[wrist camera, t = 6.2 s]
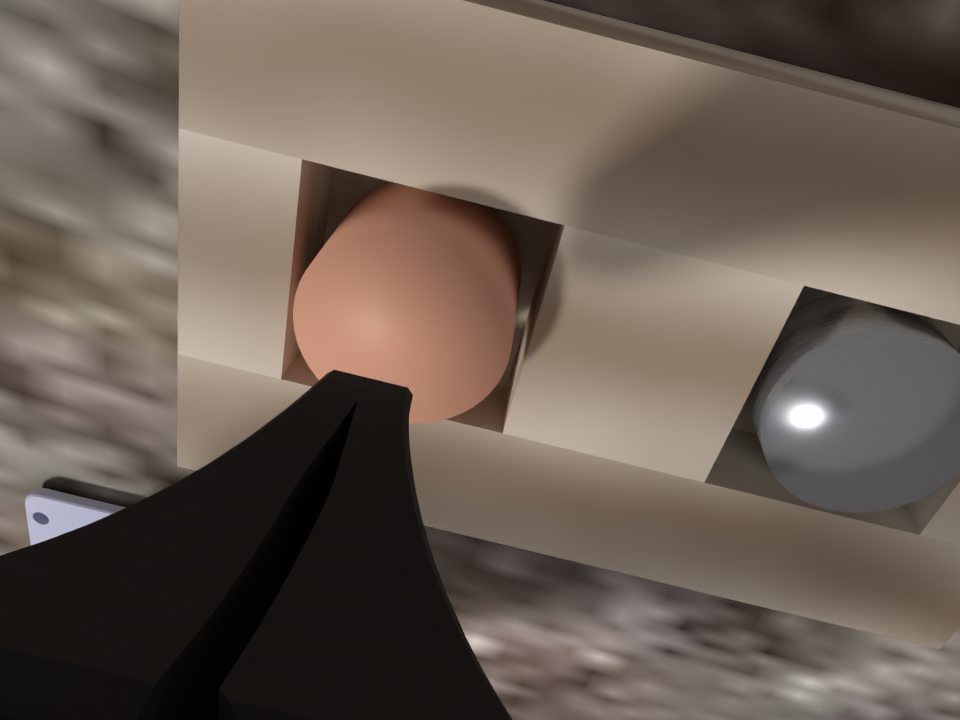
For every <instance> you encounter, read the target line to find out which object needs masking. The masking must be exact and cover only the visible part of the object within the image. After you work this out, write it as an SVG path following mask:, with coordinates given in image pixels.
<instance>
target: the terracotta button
mask: <svg viewBox="0 0 960 720" xmlns="http://www.w3.org/2000/svg"><path fill="white" fill-rule="evenodd" d="M520 284H521V260H520V255H519V251H518V247H517V244H516V242H515V239H514V237H513V235H512V233H511V231H510V229H509V227H508V225H507V224H506V223H505V221H504V220H503V219H502V217H501V216H500V215H499V214H498V212H497V211H496V210H495V209H494V208H493V207H490V206H486V205H482V204H478V203H474V202H470V201H466V200H462V199H458V198H454V197H450V196H446V195H442V194H438V193H434V192H430V191H426V190H422V189H418V188H414V187H410V186H406V185H402V184H398V183H394V182H389V183H387V184H384V185H381V186H379V187H378V188H376V189H374V190H372V191H370V192H369V193H367V194H366V195H365V196H363V197H362V198H361V199H360V200H359V201H358V202H357V203H356V204H355V205H354V206H353V207H352V208H351V209H350V211H349V212H348V213H347V215H346V216H345V217H344V219H343V220H342V222H341V223H340V224H339V226H338V227H337V228H336V230H335V231H334V233H333V234H332V235H331V237H330V238H329V239H328V241H327V242H326V243H325V245H324V246H323V248H322V249H321V250H320V252H319V253H318V254H317V256H316V257H315V258H314V260H313V261H312V263H311V264H310V265H309V267H308V268H307V269H306V271H305V273H304V275H303V276H302V278H301V280H300V282H299V285H298V288H297V291H296V294H295V299H294V305H293V323H294V332H295V335H296V339H297V343H298V346H299V348H300V351H301V353H302V355H303V357H304V359H305V361H306V363H307V364H308V366H309V368H310V369H311V370H312V372H313V373H314V374H315V376H316V377H317V378H318V379H319V380H320V379H321V378H322V377H323V376H325V375H326V374H327V373H329V372H331V371H332V370H338V371H342V372H346V373H350V374H355V375H359V376H363V377H367V378H371V379H375V380H379V381H383V382H387V383H392V384H396V385H400V386H404V387H408V388H409V390H410V391H411V393H412V394H413V398H412V403H411V408H410V412H409V423H428V422H436V421H440V420H444V419H448V418H451V417H454V416H456V415H459V414H462V413H463V412H465V411H467V410H469V409H471V408H473V407H474V406H475V405H477V404H478V403H480V402H481V401H482V400H483V399H484V398H485V397H486V396H488V395H489V394H490V393H491V392H492V390H493V389H494V388H495V386H496V385H497V384H498V383H499V381H500V379H501V377H502V376H503V374H504V372H505V370H506V367H507V364H508V362H509V358H510V353H511V349H512V342H513V335H514V328H515V320H516V313H517V306H518V299H519V292H520Z"/></svg>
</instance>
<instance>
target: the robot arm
mask: <svg viewBox="0 0 960 720" xmlns="http://www.w3.org/2000/svg"><path fill="white" fill-rule="evenodd" d="M412 398H413V394H412V393H411V391H410V390H409V388H408V387H404V386H400V385H396V384H392V383H387V382H383V381H379V380H375V379H371V378H367V377H363V376H359V375H355V374H350V373H346V372H342V371H338V370H332V371H331V372H329V373H327V374H326V375H325V376H323V377H322V378H321V379H320V380H319V381H318V382H317V383H316V384H315V385H313V386H312V387H311V388H310V389H309V390H308V391H307V392H305V393H304V394H303V395H302V396H301V397H300V398H298V399H297V400H296V401H295V402H293V403H292V404H291V405H290V406H289V407H287V408H286V409H285V410H284V411H282V412H281V413H280V414H278V415H277V416H276V417H274V418H273V419H272V420H270V421H269V422H268V423H267V424H265V425H264V426H263V427H261V428H260V429H259V430H257V431H256V432H255V433H253V434H252V435H250V436H249V437H248V438H246V439H245V440H243V441H242V442H240V443H239V444H237V445H236V446H234V447H233V448H231V449H230V450H228V451H227V452H225V453H224V454H222V455H221V456H219V457H218V458H216V459H215V460H213V461H212V462H210V463H208V464H207V465H205V466H203V467H202V468H200V469H198V470H197V471H195V472H194V473H192V474H190V475H188V476H187V477H185V478H183V479H181V480H180V481H178V482H176V483H174V484H172V485H170V486H168V487H167V488H165V489H163V490H161V491H159V492H157V493H155V494H153V495H151V496H149V497H147V498H145V499H143V500H141V501H139V502H137V503H135V504H133V505H131V506H128V507H122V506H118V505H113V504H109V503H105V502H101V501H97V500H92V499H88V498H84V497H80V496H76V495H72V494H67V493H63V492H59V491H55V490H51V489H46V488H36V489H34V490H33V491H32V492H31V493H30V494H29V495H28V496H27V497H26V498H25V508H26V515H27V522H28V529H29V536H30V543H31V546H28V547H25V548H22V549H20V550H17V551H13V552H10V553H7V554H4V555H1V556H0V720H512V718H511V717H510V715H509V714H508V712H507V710H506V709H505V707H504V706H503V704H502V702H501V701H500V699H499V697H498V696H497V694H496V692H495V691H494V689H493V687H492V685H491V684H490V682H489V680H488V679H487V677H486V675H485V673H484V672H483V670H482V668H481V666H480V664H479V662H478V660H477V658H476V656H475V654H474V652H473V650H472V649H471V647H470V645H469V643H468V641H467V639H466V637H465V634H464V632H463V630H462V628H461V625H460V623H459V621H458V619H457V616H456V614H455V612H454V610H453V607H452V605H451V603H450V601H449V598H448V596H447V594H446V592H445V589H444V586H443V584H442V581H441V578H440V575H439V573H438V570H437V567H436V564H435V562H434V558H433V555H432V552H431V549H430V546H429V543H428V539H427V536H426V532H425V529H424V525H423V521H422V517H421V512H420V508H419V503H418V499H417V494H416V488H415V483H414V477H413V469H412V461H411V454H410V442H409V412H410V408H411V403H412Z"/></svg>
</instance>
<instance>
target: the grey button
mask: <svg viewBox="0 0 960 720" xmlns="http://www.w3.org/2000/svg"><path fill="white" fill-rule="evenodd" d="M746 404H747V407H748V410H749V412H750V415H751V418H752V421H753V424H754V427H755V430H756V433H757V435H758V438H759V441H760V444H761V447H762V450H763V453H764V456H765V459H766V461H767V464H768V466H769V468H770V470H771V472H772V474H773V475H774V477H775V478H776V480H777V481H778V482H779V483H780V484H781V485H782V486H783V487H784V488H785V489H786V490H787V491H789V492H790V493H791V494H792V495H794V496H796V497H797V498H799V499H801V500H802V501H805V502H807V503H809V504H812V505H814V506H818V507H821V508H824V509H829V510H834V511H840V512H874V511H881V510H887V509H892V508H896V507H899V506H903V505H906V504H909V503H912V502H914V501H917V500H920V499H922V498H924V497H926V496H928V495H930V494H932V493H934V492H935V491H937V490H939V489H940V488H942V487H944V486H945V485H946V484H948V483H949V482H950V481H952V480H953V479H954V478H956V477H957V476H958V475H959V474H960V353H959V352H958V351H957V350H956V348H955V347H954V346H953V345H952V344H951V343H950V341H949V340H948V339H947V338H946V337H945V336H944V334H943V333H942V332H941V331H940V330H939V329H938V328H937V326H936V325H935V324H934V323H933V322H932V321H931V319H930V318H929V317H927V316H923V315H919V314H915V313H911V312H907V311H903V310H899V309H895V308H891V307H887V306H883V305H879V304H875V303H871V302H867V301H863V300H859V299H855V298H851V297H847V296H843V295H839V294H835V293H832V292H828V291H824V290H820V289H816V288H812V287H808V286H804V287H803V289H802V291H801V293H800V295H799V297H798V299H797V301H796V303H795V305H794V307H793V309H792V310H791V312H790V314H789V316H788V318H787V320H786V322H785V324H784V326H783V328H782V330H781V332H780V334H779V336H778V338H777V340H776V342H775V344H774V346H773V348H772V350H771V352H770V354H769V356H768V358H767V360H766V362H765V364H764V366H763V368H762V370H761V372H760V374H759V376H758V378H757V380H756V382H755V384H754V385H753V387H752V389H751V391H750V393H749V395H748V397H747V399H746Z"/></svg>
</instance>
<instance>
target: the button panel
mask: <svg viewBox="0 0 960 720" xmlns="http://www.w3.org/2000/svg"><path fill="white" fill-rule="evenodd" d="M389 182H394V183H398V184H402V185H406V186H410V187H414V188H418V189H422V190H426V191H430V192H434V193H438V194H442V195H446V196H450V197H454V198H458V199H462V200H466V201H470V202H474V203H478V204H482V205H486V206H490V207H493V208H494V209H495V210H496V211H497V212H498V214H499V215H500V216H501V217H502V219H503V220H504V221H505V223H506V224H507V225H508V227H509V229H510V231H511V233H512V235H513V237H514V239H515V242H516V244H517V247H518V251H519V255H520V260H521V284H520V292H519V299H518V306H517V313H516V320H515V328H514V335H513V342H512V349H511V353H510V358H509V362H508V364H507V367H506V370H505V372H504V374H503V376H502V377H501V379H500V381H499V383H498V384H497V385H496V386H495V388H494V389H493V390H492V392H491V393H490V394H489V395H488V396H486V397H485V398H484V399H483V400H482V401H481V402H480V403H478V404H477V405H475V406H474V407H473V408H471V409H469V410H467V411H465V412H463V413H462V414H459V415H456V416H454V417H451V418H448V419H444V420H440V421H436V422H428V423H409V442H410V454H411V461H412V469H413V477H414V483H415V488H416V494H417V499H418V503H419V508H420V512H421V517H422V521H423V525H424V526H428V527H432V528H436V529H441V530H445V531H449V532H453V533H457V534H461V535H466V536H470V537H474V538H478V539H482V540H486V541H491V542H495V543H499V544H503V545H507V546H511V547H515V548H520V549H524V550H528V551H532V552H536V553H540V554H545V555H549V556H553V557H557V558H561V559H565V560H570V561H574V562H578V563H582V564H586V565H590V566H595V567H599V568H603V569H607V570H611V571H615V572H619V573H624V574H628V575H632V576H636V577H640V578H644V579H649V580H653V581H657V582H661V583H665V584H669V585H674V586H678V587H682V588H686V589H690V590H694V591H699V592H703V593H707V594H711V595H715V596H719V597H723V598H728V599H732V600H736V601H740V602H744V603H748V604H753V605H757V606H761V607H765V608H769V609H773V610H778V611H782V612H786V613H790V614H794V615H798V616H802V617H807V618H811V619H815V620H819V621H823V622H827V623H832V624H836V625H840V626H844V627H848V628H852V629H857V630H861V631H865V632H869V633H873V634H877V635H882V636H886V637H890V638H894V639H898V640H902V641H906V642H911V643H915V644H919V645H923V646H927V647H931V648H936V649H940V648H941V647H942V646H943V645H944V644H945V643H946V642H947V640H948V639H949V638H950V637H951V636H952V635H953V633H954V632H955V631H956V630H957V629H958V628H959V627H960V474H959V475H958V476H957V477H956V478H954V479H953V480H952V481H950V482H949V483H948V484H946V485H945V486H944V487H942V488H940V489H939V490H937V491H935V492H934V493H932V494H930V495H928V496H926V497H924V498H922V499H920V500H917V501H914V502H912V503H909V504H906V505H903V506H899V507H896V508H892V509H887V510H881V511H874V512H840V511H834V510H829V509H824V508H821V507H818V506H814V505H812V504H809V503H807V502H805V501H802V500H801V499H799V498H797V497H796V496H794V495H792V494H791V493H790V492H789V491H787V490H786V489H785V488H784V487H783V486H782V485H781V484H780V483H779V482H778V481H777V480H776V478H775V477H774V475H773V474H772V472H771V470H770V468H769V466H768V464H767V461H766V459H765V456H764V453H763V450H762V447H761V444H760V441H759V438H758V435H757V433H756V430H755V427H754V424H753V421H752V418H751V415H750V412H749V410H748V407H747V404H746V399H747V397H748V395H749V393H750V391H751V389H752V387H753V385H754V384H755V382H756V380H757V378H758V376H759V374H760V372H761V370H762V368H763V366H764V364H765V362H766V360H767V358H768V356H769V354H770V352H771V350H772V348H773V346H774V344H775V342H776V340H777V338H778V336H779V334H780V332H781V330H782V328H783V326H784V324H785V322H786V320H787V318H788V316H789V314H790V312H791V310H792V309H793V307H794V305H795V303H796V301H797V299H798V297H799V295H800V293H801V291H802V289H803V287H804V286H808V287H812V288H816V289H820V290H824V291H828V292H832V293H835V294H839V295H843V296H847V297H851V298H855V299H859V300H863V301H867V302H871V303H875V304H879V305H883V306H887V307H891V308H895V309H899V310H903V311H907V312H911V313H915V314H919V315H923V316H927V317H929V318H930V319H931V321H932V322H933V323H934V324H935V325H936V326H937V328H938V329H939V330H940V331H941V332H942V333H943V334H944V336H945V337H946V338H947V339H948V340H949V341H950V343H951V344H952V345H953V346H954V347H955V348H956V350H957V351H958V352H959V353H960V108H957V107H953V106H950V105H946V104H942V103H938V102H934V101H930V100H926V99H923V98H919V97H915V96H911V95H907V94H903V93H899V92H896V91H892V90H888V89H884V88H880V87H876V86H872V85H868V84H865V83H861V82H857V81H853V80H849V79H845V78H841V77H838V76H834V75H830V74H826V73H822V72H818V71H814V70H811V69H807V68H803V67H799V66H795V65H791V64H787V63H784V62H780V61H776V60H772V59H768V58H764V57H760V56H757V55H753V54H749V53H745V52H741V51H737V50H733V49H730V48H726V47H722V46H718V45H714V44H710V43H706V42H702V41H699V40H695V39H691V38H687V37H683V36H679V35H675V34H672V33H668V32H664V31H660V30H656V29H652V28H648V27H645V26H641V25H637V24H633V23H629V22H625V21H621V20H618V19H614V18H610V17H606V16H602V15H598V14H594V13H591V12H587V11H583V10H579V9H575V8H571V7H567V6H564V5H560V4H556V3H552V2H548V1H544V0H179V201H178V405H177V466H179V467H183V468H187V469H191V470H195V471H197V470H198V469H200V468H202V467H203V466H205V465H207V464H208V463H210V462H212V461H213V460H215V459H216V458H218V457H219V456H221V455H222V454H224V453H225V452H227V451H228V450H230V449H231V448H233V447H234V446H236V445H237V444H239V443H240V442H242V441H243V440H245V439H246V438H248V437H249V436H250V435H252V434H253V433H255V432H256V431H257V430H259V429H260V428H261V427H263V426H264V425H265V424H267V423H268V422H269V421H270V420H272V419H273V418H274V417H276V416H277V415H278V414H280V413H281V412H282V411H284V410H285V409H286V408H287V407H289V406H290V405H291V404H292V403H293V402H295V401H296V400H297V399H298V398H300V397H301V396H302V395H303V394H304V393H305V392H307V391H308V390H309V389H310V388H311V387H312V386H313V385H315V384H316V383H317V382H318V381H319V379H318V378H317V377H316V376H315V374H314V373H313V372H312V370H311V369H310V368H309V366H308V364H307V363H306V361H305V359H304V357H303V355H302V353H301V351H300V348H299V346H298V343H297V339H296V335H295V332H294V323H293V305H294V299H295V294H296V291H297V288H298V285H299V282H300V280H301V278H302V276H303V275H304V273H305V271H306V269H307V268H308V267H309V265H310V264H311V263H312V261H313V260H314V258H315V257H316V256H317V254H318V253H319V252H320V250H321V249H322V248H323V246H324V245H325V243H326V242H327V241H328V239H329V238H330V237H331V235H332V234H333V233H334V231H335V230H336V228H337V227H338V226H339V224H340V223H341V222H342V220H343V219H344V217H345V216H346V215H347V213H348V212H349V211H350V209H351V208H352V207H353V206H354V205H355V204H356V203H357V202H358V201H359V200H360V199H361V198H362V197H363V196H365V195H366V194H367V193H369V192H370V191H372V190H374V189H376V188H378V187H379V186H381V185H384V184H387V183H389Z"/></svg>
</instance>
